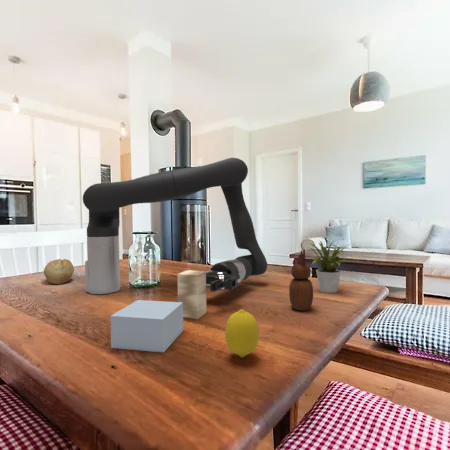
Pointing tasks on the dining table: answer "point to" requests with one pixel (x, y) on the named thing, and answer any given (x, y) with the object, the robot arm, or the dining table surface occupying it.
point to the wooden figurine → (301, 285)
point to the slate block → (147, 325)
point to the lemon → (242, 333)
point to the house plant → (328, 268)
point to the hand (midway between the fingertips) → (196, 285)
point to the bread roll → (59, 271)
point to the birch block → (192, 293)
